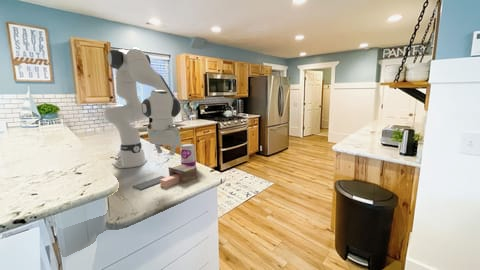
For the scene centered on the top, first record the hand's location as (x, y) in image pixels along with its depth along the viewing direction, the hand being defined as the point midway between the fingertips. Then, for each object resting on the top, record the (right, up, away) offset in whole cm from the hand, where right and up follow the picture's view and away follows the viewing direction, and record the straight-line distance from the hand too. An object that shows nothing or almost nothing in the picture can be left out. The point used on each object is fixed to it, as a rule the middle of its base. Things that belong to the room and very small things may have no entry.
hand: (165, 154), depth 102 cm
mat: (-9, -15, +5) cm, 18 cm away
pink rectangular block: (+3, -15, +6) cm, 16 cm away
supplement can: (+5, -12, +24) cm, 28 cm away
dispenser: (+5, -14, +10) cm, 18 cm away
